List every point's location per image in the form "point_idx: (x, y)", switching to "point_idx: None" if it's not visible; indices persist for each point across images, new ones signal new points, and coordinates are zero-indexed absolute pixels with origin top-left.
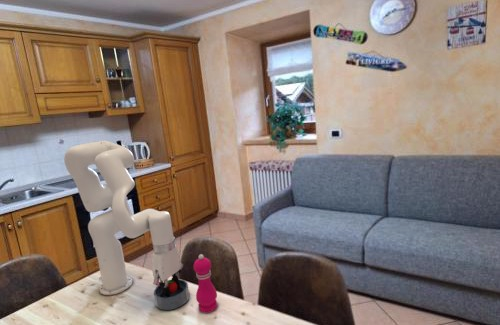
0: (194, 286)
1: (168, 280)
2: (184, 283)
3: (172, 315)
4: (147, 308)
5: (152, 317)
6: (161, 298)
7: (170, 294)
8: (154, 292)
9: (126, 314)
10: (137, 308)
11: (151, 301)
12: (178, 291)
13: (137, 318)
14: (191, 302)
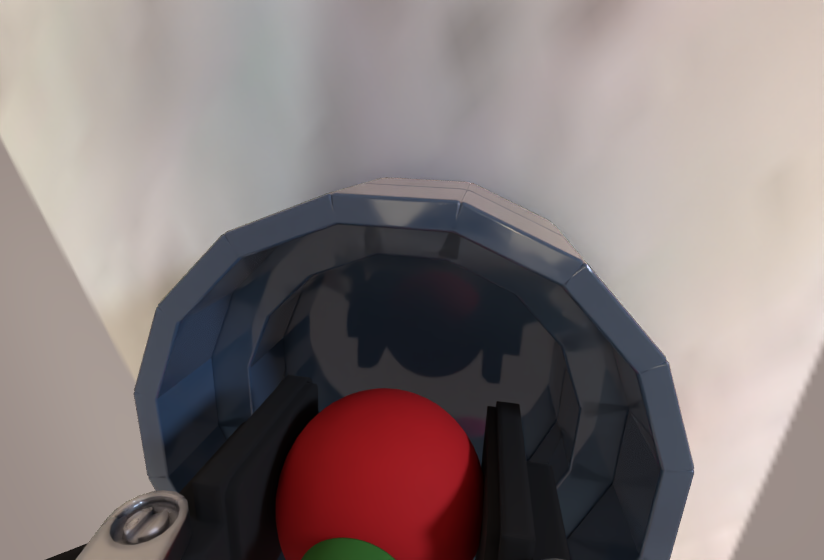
0: (750, 455)
1: (597, 276)
2: (609, 555)
3: None
4: (203, 180)
5: (147, 335)
6: (151, 479)
7: (483, 295)
8: (188, 285)
9: (23, 13)
10: (145, 53)
11: (310, 121)
12: (563, 365)
13: (62, 201)
14: None
